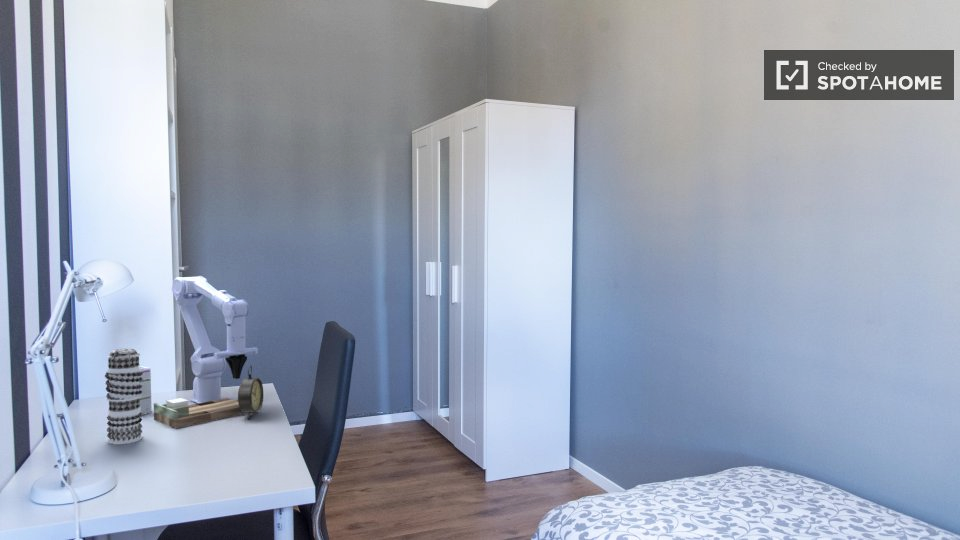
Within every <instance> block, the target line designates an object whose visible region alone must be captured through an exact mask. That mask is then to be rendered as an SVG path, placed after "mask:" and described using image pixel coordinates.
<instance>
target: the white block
mask: <svg viewBox="0 0 960 540" xmlns="http://www.w3.org/2000/svg"><path fill="white" fill-rule="evenodd" d="M165 404H167V407H168V408H171V409H174V408H179V407H184V406H188V405H189V400H188V399H185V398H182V397H179V398H172V399H167V400H166V403H165Z"/></svg>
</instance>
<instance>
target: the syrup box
mask: <svg viewBox="0 0 960 540" xmlns="http://www.w3.org/2000/svg"><path fill="white" fill-rule="evenodd" d="M139 372H142V373H143V374H142V375H141V376H139V377H141V378H142V379H143V380H142V381H140V382H139V384H140V385H142V387H141V388H140V389H139V390H141V391H142V393H141V395H142V396H141V397H140V407H141V413H142V414H143V415H146V414H145V413H147V414H150V413H149V412H151V413H152V411H153V409H152V379H151V378H152V376H151V375H152V373H151V367H146V366H142V365H140V371H139Z"/></svg>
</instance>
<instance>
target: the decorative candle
mask: <svg viewBox="0 0 960 540" xmlns="http://www.w3.org/2000/svg"><path fill="white" fill-rule="evenodd" d="M140 356H141V353H138V352H137V350H136V349H134V348H117V349H114V350H111V352H110V353H109V355H107V356H106V358H107V359H108V360H107V362H108V364H107V365H108V366H107V371H106V373H105V374H104V378H105V379H106V381H105V385H106V387H105V390H106V392H107V394H106V401H108V410H107V416H106V419H107V420H108V421H107V423H106V424H107V426H108V427H107V429H106V432H107V434H106V437H107V443H108V442H109V443H108V444H110V443H113V444H112V445H125V444H131V443H135V442H138V441H141V439H143V436H142V433H143V430H142V428H143V425H142V423H141V422H142V421H143V419H142V416H143V415H142V413H141V407H140V397H141V396H142V395H141V393H142V391H141V390H139V389H140V388H141V387H142V385H140V384H139V382H140V381H142V380H143V379H142V378H141V377H139V376H141V375H142V374H143V373H142V372H139V371H140V366H141V365H140Z"/></svg>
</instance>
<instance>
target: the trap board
mask: <svg viewBox="0 0 960 540" xmlns="http://www.w3.org/2000/svg"><path fill="white" fill-rule="evenodd" d="M240 415H245V414H244V413H243V412H242V411H241V410H240V407H239V404H238V400H235V399H232V398H229V397H225V398H222V399H218V400H213V401H208V402H202V403H193V404H188V406H184V407H179V408H174V409H171V408H168V407H167V403H163V404H161V403H158V402H155V403H153V420H154V421H157V422H159V423H161V424H163V425H166V426H169V427H170V428H174V430H175V429H179V428H180V429H181V428H184V427H188V426H194V425H197V424H198V425H199V424H202V423H207V421H208V422H212V420H213V421H216V419H217V420H221V419H222V420H223V419H225V418H230V417H236V416H240ZM193 424H194V425H193Z"/></svg>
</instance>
